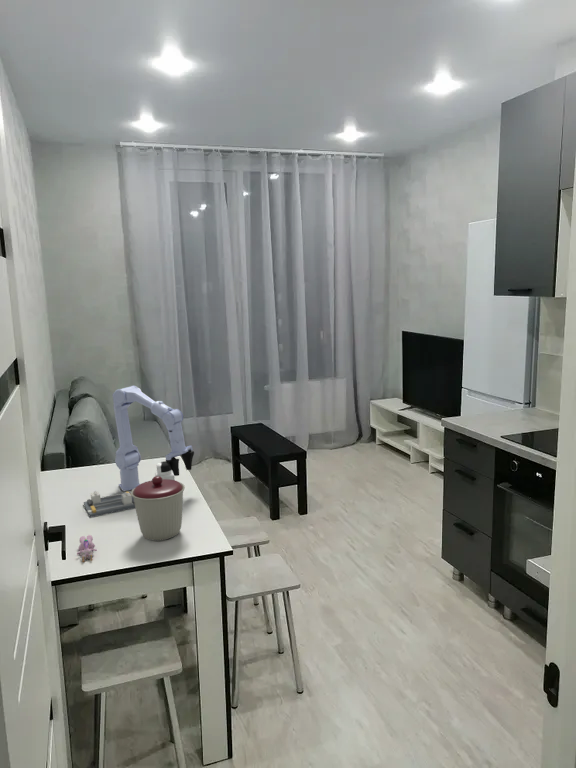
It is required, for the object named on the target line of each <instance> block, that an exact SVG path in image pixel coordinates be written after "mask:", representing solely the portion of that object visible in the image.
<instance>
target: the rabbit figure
mask: <svg viewBox="0 0 576 768" xmlns="http://www.w3.org/2000/svg"><path fill="white" fill-rule="evenodd" d="M93 538H94V537H93V536H92V535H91V534H88V535H87V536H85V535H82V536H80V538H79V543H80V544H79V547H78V549H77V550H79V551H78V552H76V555H79V554H81V560H82V561H81V562H82V563H83V564H84V563H85V561H87V560H88V559H89V560H90V561H94V559H93V558H94V552H97V551H98V550H97V549H96V548H95V547H96V544H95V543H94V542H93V540H94V539H93ZM93 551H94V552H93Z"/></svg>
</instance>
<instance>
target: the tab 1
mask: <svg viewBox="0 0 576 768" xmlns="http://www.w3.org/2000/svg"><path fill="white" fill-rule="evenodd" d="M101 498H102V497H101V494H100V492H99V491H97V492H96V491H93V492H91V493H90V500H91V501H92V503H93V504H95V503H99V502H101Z"/></svg>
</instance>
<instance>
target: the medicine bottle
mask: <svg viewBox="0 0 576 768" xmlns="http://www.w3.org/2000/svg"><path fill="white" fill-rule="evenodd" d="M155 476H160V477H161V478H162V479H170V480H175V479H176V478H175V476H174V474H173V471H172V469H171V468H170V466H169V465H168V464H167V463H166V460H165V461H160V462H158V463H156V472H155V473H154V477H155ZM175 481H176V480H175Z"/></svg>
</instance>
